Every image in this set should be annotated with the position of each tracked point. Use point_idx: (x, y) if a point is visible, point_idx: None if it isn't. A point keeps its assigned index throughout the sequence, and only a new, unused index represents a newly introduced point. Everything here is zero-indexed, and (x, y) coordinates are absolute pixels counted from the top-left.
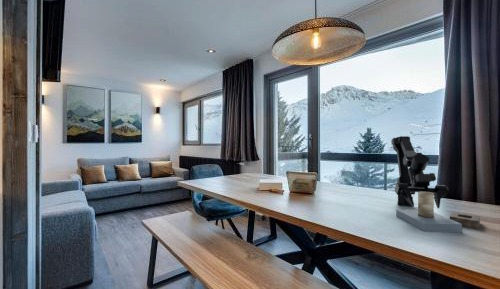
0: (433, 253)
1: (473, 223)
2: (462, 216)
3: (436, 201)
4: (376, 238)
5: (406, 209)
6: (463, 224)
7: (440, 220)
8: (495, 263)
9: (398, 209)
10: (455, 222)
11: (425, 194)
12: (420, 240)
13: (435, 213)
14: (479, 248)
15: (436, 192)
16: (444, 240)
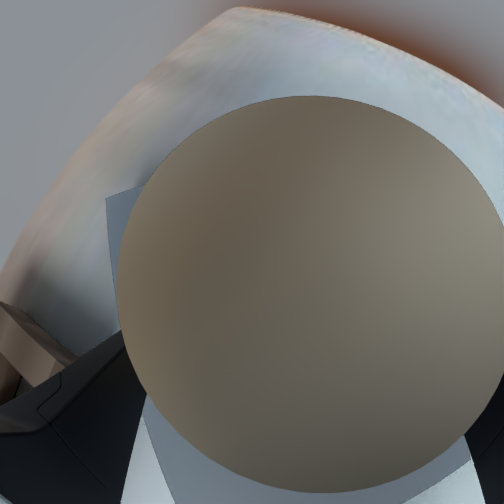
0: (322, 35)
1: (18, 316)
2: None
3: (118, 411)
4: (460, 89)
5: (396, 502)
6: (56, 345)
7: None
8: (196, 32)
9: (457, 463)
10: (123, 219)
11: (364, 119)
12: (350, 85)
13: (168, 458)
14: (173, 80)
15: (14, 496)
16: (263, 100)
